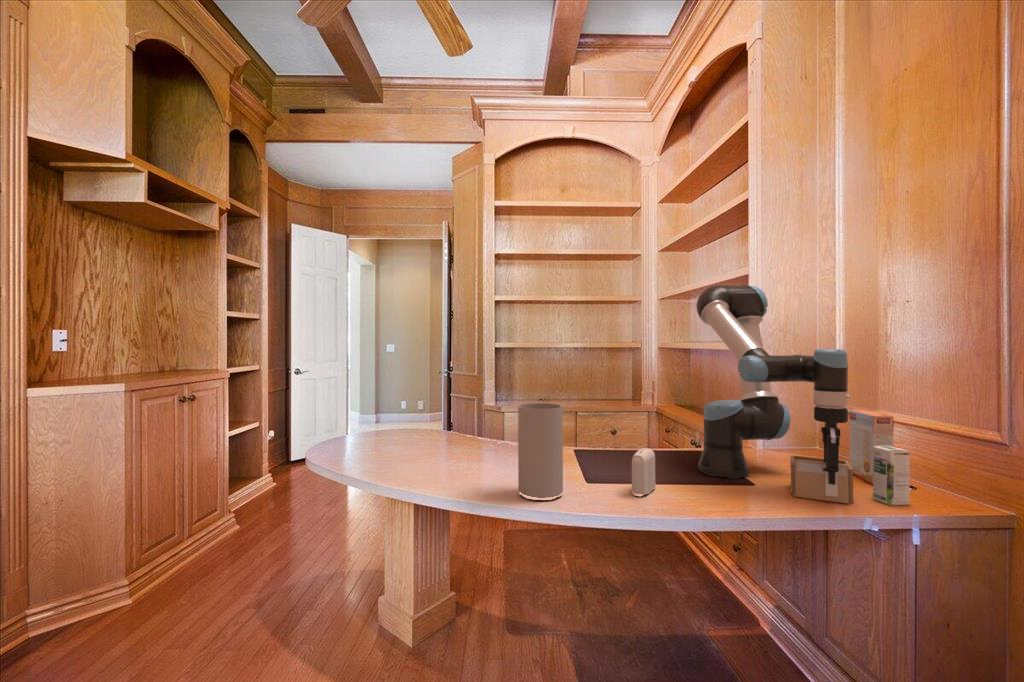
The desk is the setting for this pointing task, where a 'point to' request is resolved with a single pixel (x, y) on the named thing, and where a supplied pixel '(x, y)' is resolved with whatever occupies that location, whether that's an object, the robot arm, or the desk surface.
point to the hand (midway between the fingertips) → (831, 494)
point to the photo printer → (643, 471)
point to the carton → (820, 461)
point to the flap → (819, 481)
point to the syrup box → (891, 475)
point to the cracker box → (868, 439)
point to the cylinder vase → (540, 449)
